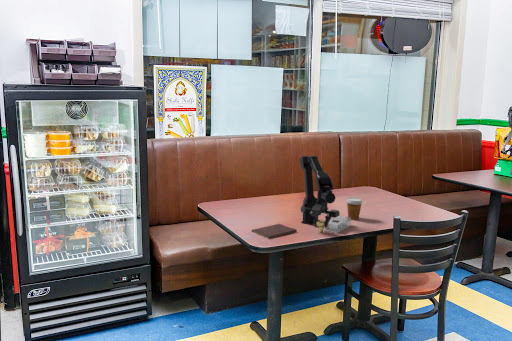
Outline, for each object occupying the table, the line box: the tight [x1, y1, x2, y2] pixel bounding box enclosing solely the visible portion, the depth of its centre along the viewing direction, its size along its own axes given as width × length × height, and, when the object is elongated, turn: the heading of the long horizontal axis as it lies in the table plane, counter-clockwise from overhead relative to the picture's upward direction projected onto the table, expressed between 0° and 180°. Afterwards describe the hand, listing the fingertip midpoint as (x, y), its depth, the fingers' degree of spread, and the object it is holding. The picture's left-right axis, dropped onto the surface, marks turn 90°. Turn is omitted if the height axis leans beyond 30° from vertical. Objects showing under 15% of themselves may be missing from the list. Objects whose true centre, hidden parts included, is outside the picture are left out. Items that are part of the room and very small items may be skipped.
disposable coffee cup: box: [345, 197, 363, 221], centre depth 290 cm, size 10×10×12 cm
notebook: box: [251, 223, 297, 239], centre depth 263 cm, size 15×20×2 cm
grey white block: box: [323, 215, 352, 234], centre depth 272 cm, size 8×18×4 cm, turn 146°
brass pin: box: [316, 219, 326, 234], centre depth 263 cm, size 5×5×6 cm
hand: (321, 226), depth 263 cm, fingers closed on brass pin, 5 cm apart
